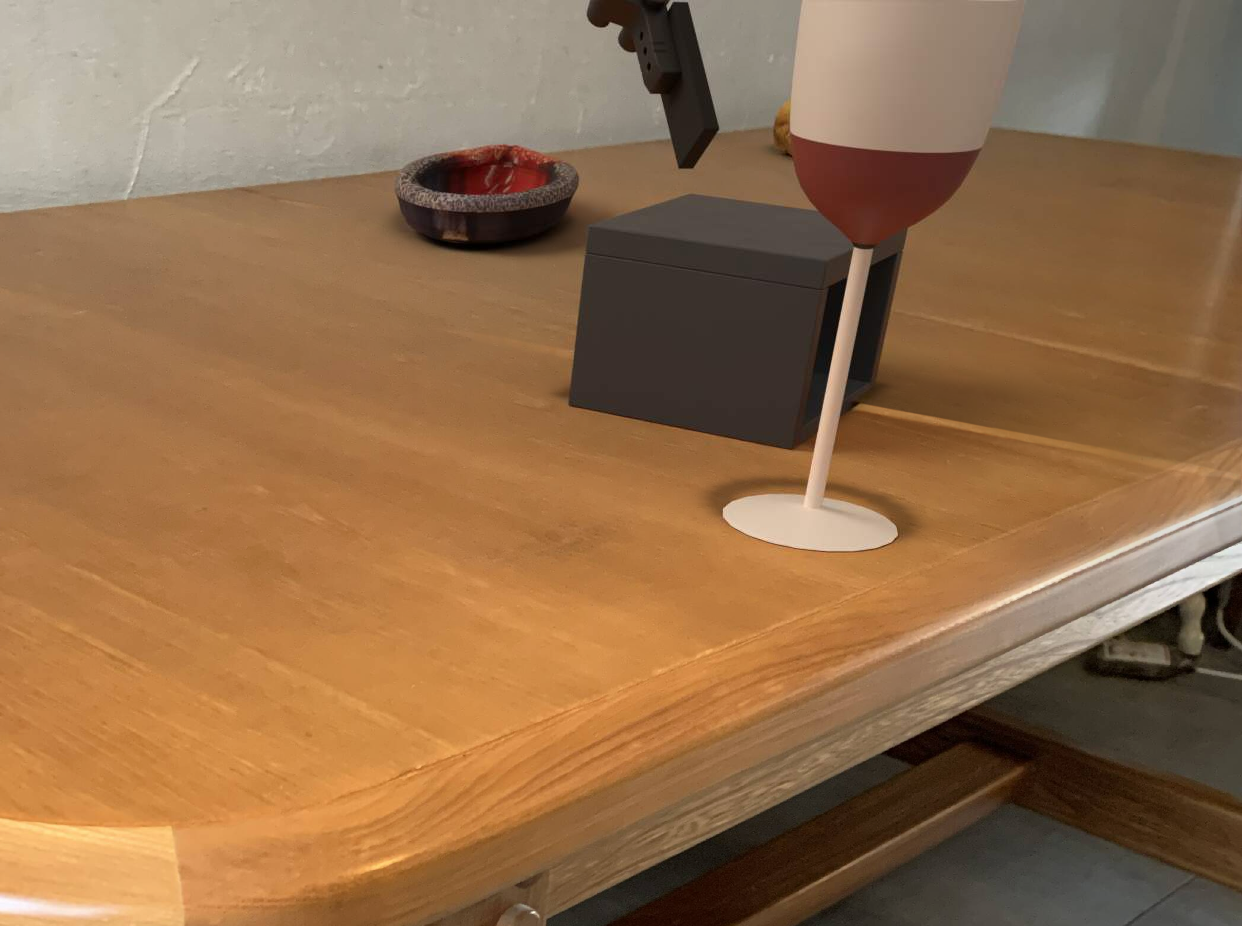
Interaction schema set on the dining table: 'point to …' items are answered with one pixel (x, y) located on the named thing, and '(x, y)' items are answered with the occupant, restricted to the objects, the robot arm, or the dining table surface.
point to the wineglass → (878, 182)
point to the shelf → (724, 317)
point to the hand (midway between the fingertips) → (829, 150)
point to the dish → (485, 194)
